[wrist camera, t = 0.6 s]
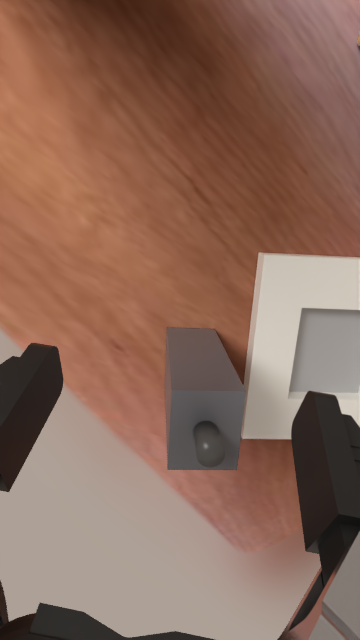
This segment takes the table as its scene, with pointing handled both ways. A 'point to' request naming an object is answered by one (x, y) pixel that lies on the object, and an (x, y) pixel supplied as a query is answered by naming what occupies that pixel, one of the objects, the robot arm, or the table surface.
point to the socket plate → (301, 339)
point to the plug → (201, 402)
